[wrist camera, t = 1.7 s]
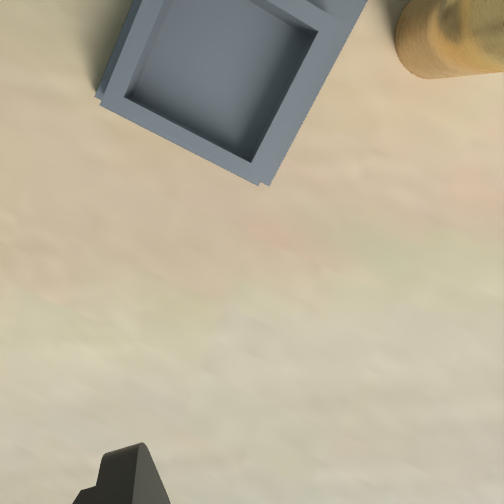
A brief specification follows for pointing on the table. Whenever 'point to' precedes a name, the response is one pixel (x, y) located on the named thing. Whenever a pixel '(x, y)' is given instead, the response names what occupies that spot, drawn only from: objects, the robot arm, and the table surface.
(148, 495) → the robot arm
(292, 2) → the tester dock
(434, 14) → the battery cell
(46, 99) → the table surface
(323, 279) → the table surface
